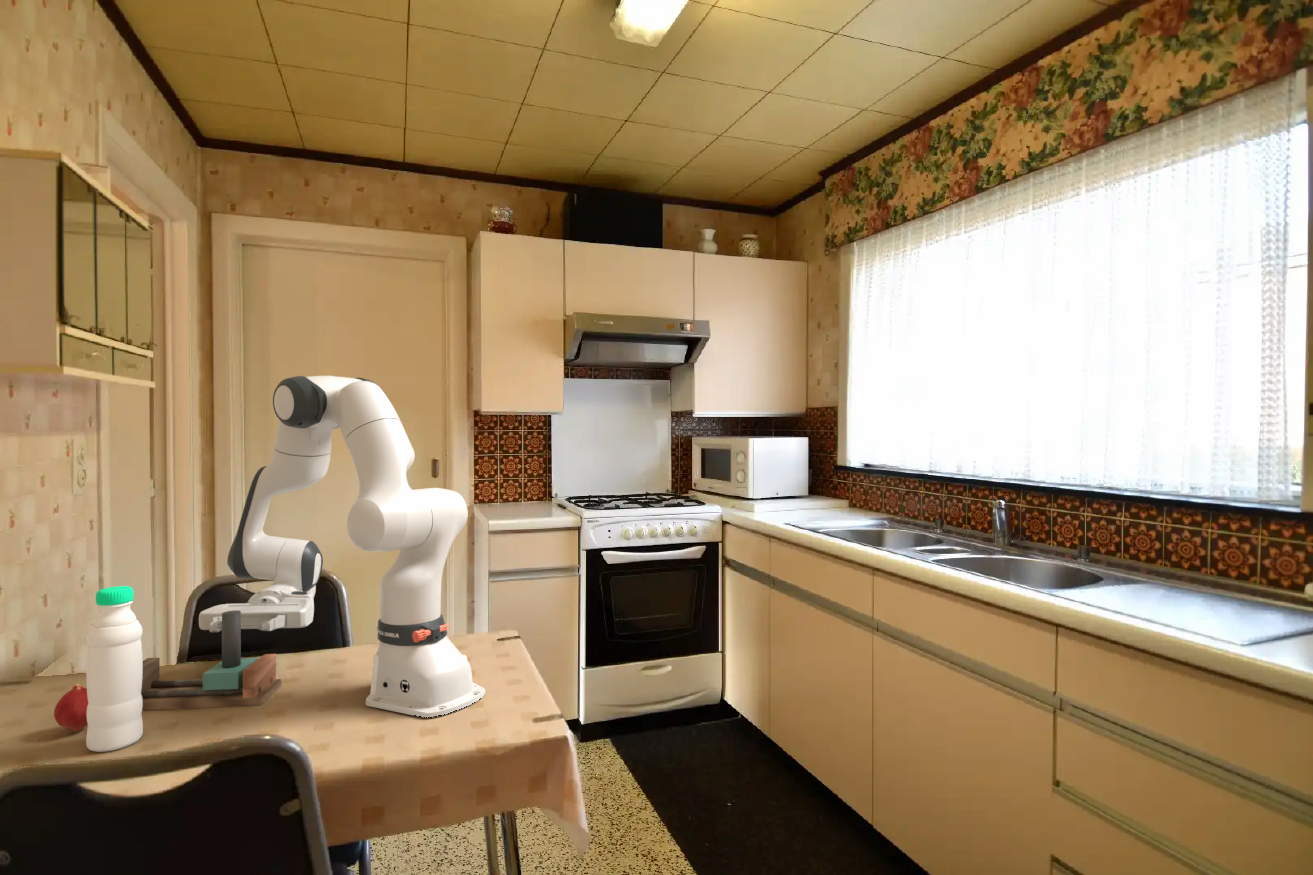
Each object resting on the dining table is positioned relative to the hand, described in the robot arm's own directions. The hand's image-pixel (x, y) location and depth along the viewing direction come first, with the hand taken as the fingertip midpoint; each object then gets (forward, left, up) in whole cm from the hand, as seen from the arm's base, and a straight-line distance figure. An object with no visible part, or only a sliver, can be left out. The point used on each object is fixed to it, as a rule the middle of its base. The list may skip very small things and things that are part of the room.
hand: (239, 627), depth 130 cm
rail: (+1, +6, -12) cm, 14 cm away
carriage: (-2, +3, -9) cm, 10 cm away
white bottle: (-7, +22, -12) cm, 26 cm away
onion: (+4, +24, -12) cm, 27 cm away
